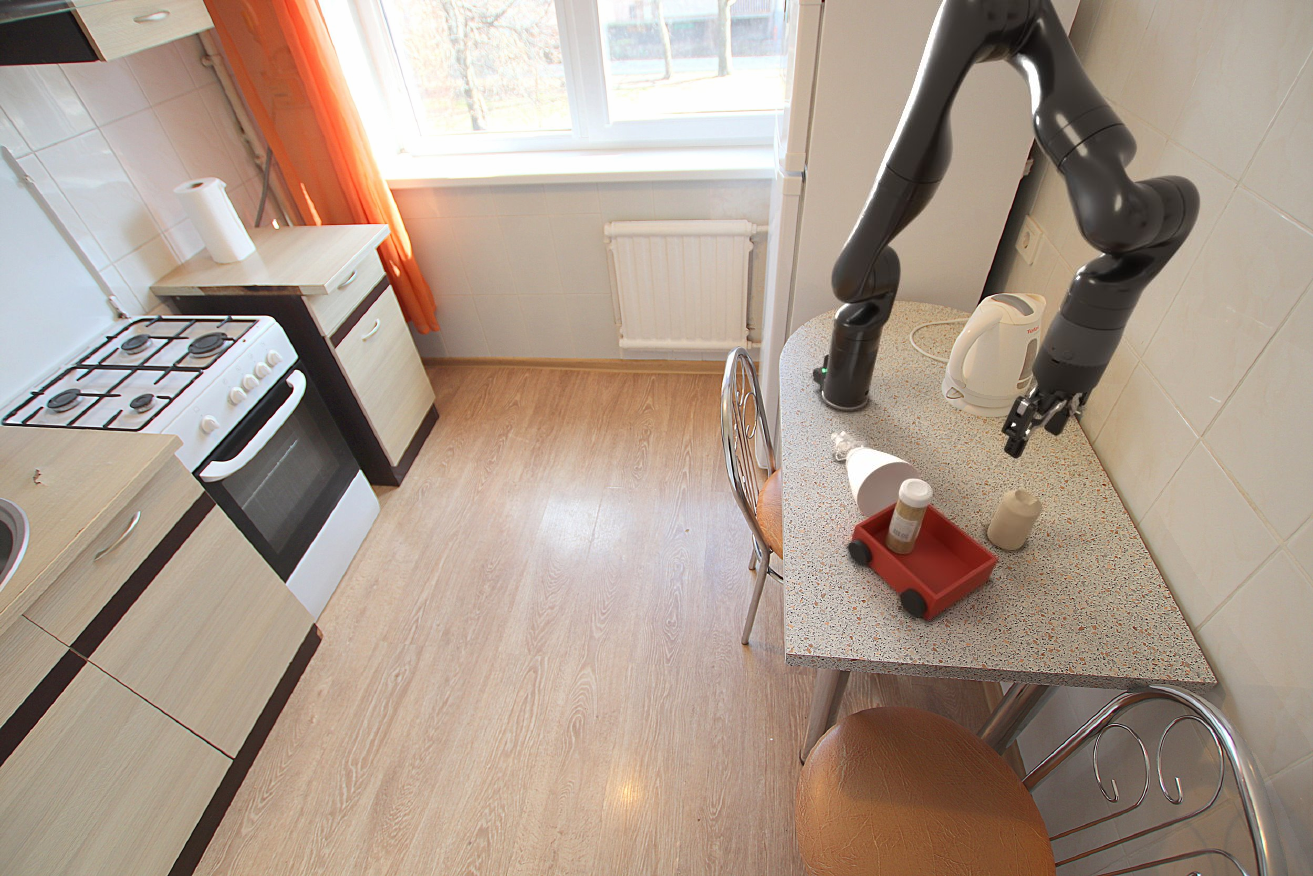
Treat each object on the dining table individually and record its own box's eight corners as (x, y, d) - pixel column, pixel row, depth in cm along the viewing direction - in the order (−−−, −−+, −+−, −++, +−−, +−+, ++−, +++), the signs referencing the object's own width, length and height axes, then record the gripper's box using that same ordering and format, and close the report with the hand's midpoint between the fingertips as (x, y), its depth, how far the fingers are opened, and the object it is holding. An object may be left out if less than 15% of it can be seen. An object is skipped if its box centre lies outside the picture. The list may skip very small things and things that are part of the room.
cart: (849, 547, 102) (855, 525, 98) (907, 514, 106) (914, 492, 102) (927, 621, 91) (936, 599, 87) (987, 580, 95) (999, 558, 92)
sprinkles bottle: (919, 546, 100) (940, 490, 91) (900, 560, 98) (919, 504, 89) (896, 529, 103) (914, 473, 94) (878, 541, 101) (894, 486, 92)
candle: (1028, 535, 101) (1051, 494, 95) (1016, 556, 98) (1039, 515, 92) (993, 519, 104) (1013, 478, 97) (981, 539, 101) (1000, 498, 95)
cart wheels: (846, 553, 101) (850, 537, 98) (915, 513, 106) (920, 497, 103) (917, 622, 91) (924, 607, 88) (989, 574, 96) (998, 558, 94)
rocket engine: (840, 403, 114) (890, 450, 98) (881, 430, 119) (934, 479, 103) (801, 450, 117) (843, 503, 102) (842, 474, 122) (888, 529, 107)
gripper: (1085, 316, 81) (1040, 411, 91) (1012, 350, 76) (974, 446, 87) (1143, 342, 76) (1089, 439, 86) (1069, 381, 71) (1021, 478, 82)
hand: (1031, 443), depth 87 cm, fingers open, 8 cm apart
